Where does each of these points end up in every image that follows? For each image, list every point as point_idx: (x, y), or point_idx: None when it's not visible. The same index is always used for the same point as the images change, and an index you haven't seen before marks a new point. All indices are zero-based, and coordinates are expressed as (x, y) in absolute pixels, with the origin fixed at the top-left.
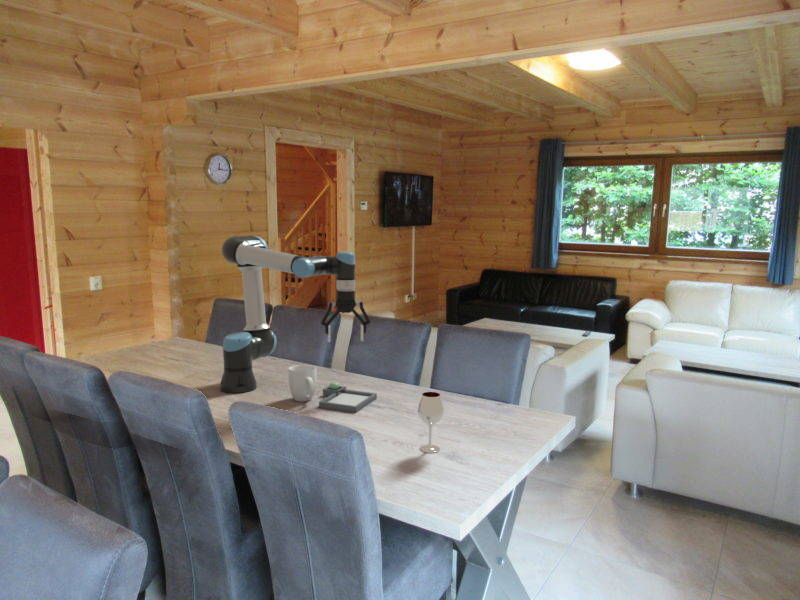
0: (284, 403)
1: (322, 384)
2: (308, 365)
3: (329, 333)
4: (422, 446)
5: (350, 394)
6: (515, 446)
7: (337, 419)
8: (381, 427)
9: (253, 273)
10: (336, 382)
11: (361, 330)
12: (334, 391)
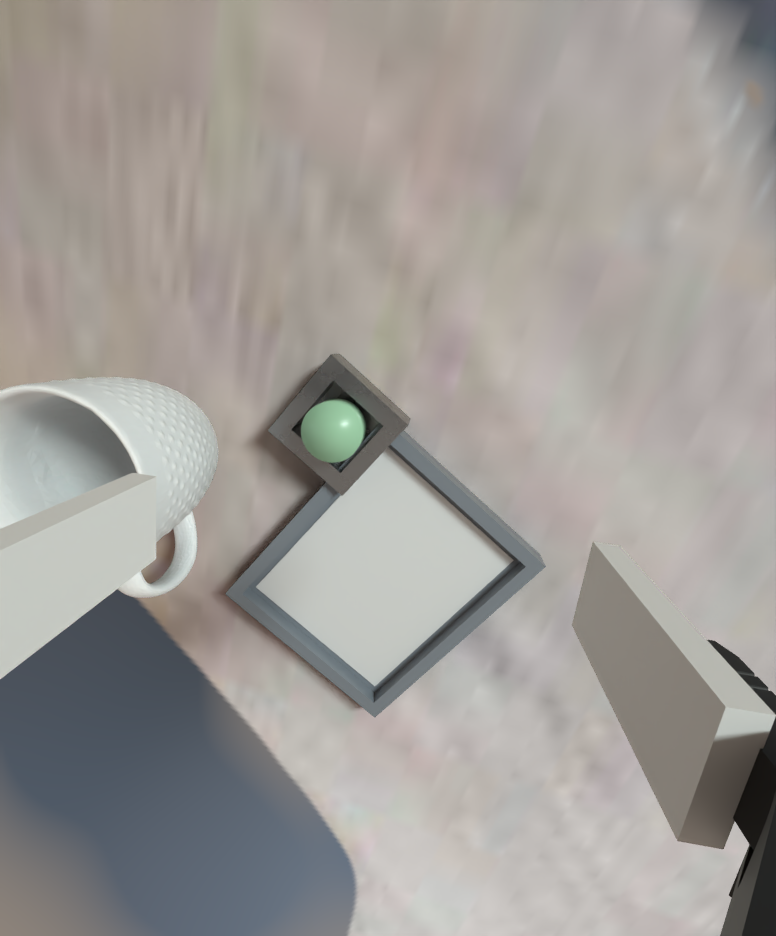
0: None
1: (321, 168)
2: (96, 414)
3: (56, 620)
4: None
5: (416, 488)
6: None
7: (285, 739)
8: (421, 861)
9: None
10: (347, 418)
11: (635, 726)
12: (325, 480)
